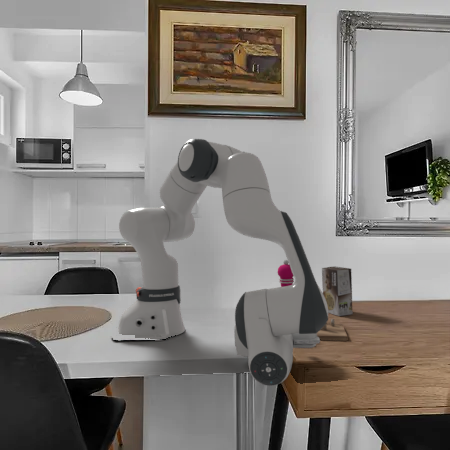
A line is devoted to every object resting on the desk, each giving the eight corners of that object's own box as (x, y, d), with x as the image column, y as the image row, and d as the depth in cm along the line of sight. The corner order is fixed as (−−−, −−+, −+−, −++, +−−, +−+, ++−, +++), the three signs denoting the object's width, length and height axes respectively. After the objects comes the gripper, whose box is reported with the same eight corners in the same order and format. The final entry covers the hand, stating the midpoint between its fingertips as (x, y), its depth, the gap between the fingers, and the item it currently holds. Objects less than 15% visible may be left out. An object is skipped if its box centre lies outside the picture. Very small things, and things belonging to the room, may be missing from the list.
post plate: (347, 340, 105) (346, 321, 105) (303, 339, 107) (302, 321, 107) (342, 328, 117) (341, 311, 117) (302, 327, 119) (302, 310, 119)
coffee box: (353, 314, 133) (352, 268, 133) (338, 316, 131) (337, 269, 130) (336, 309, 141) (335, 265, 141) (322, 311, 139) (321, 267, 139)
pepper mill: (298, 320, 128) (296, 260, 127) (276, 319, 129) (274, 261, 129) (298, 314, 135) (296, 258, 135) (277, 314, 136) (276, 258, 136)
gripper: (320, 329, 84) (316, 314, 98) (229, 328, 88) (238, 313, 102) (321, 357, 84) (317, 338, 98) (230, 355, 88) (239, 337, 102)
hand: (276, 326), depth 100 cm, fingers open, 8 cm apart
